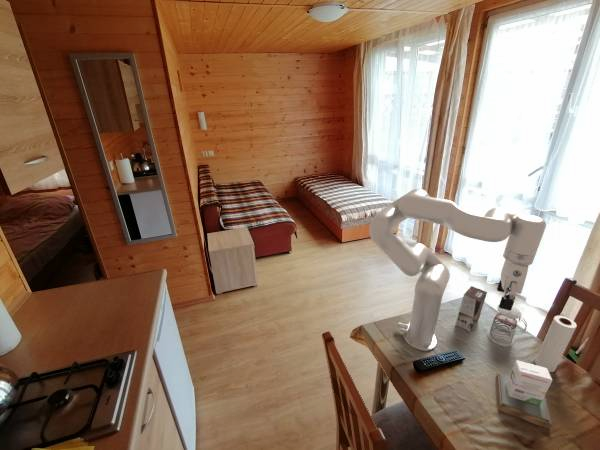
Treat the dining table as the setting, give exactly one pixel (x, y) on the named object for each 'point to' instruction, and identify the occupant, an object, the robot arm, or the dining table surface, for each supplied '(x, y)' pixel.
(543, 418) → the stand
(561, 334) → the paper towel roll
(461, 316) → the coffee box
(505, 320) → the french press
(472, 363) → the dining table surface
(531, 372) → the ink box
